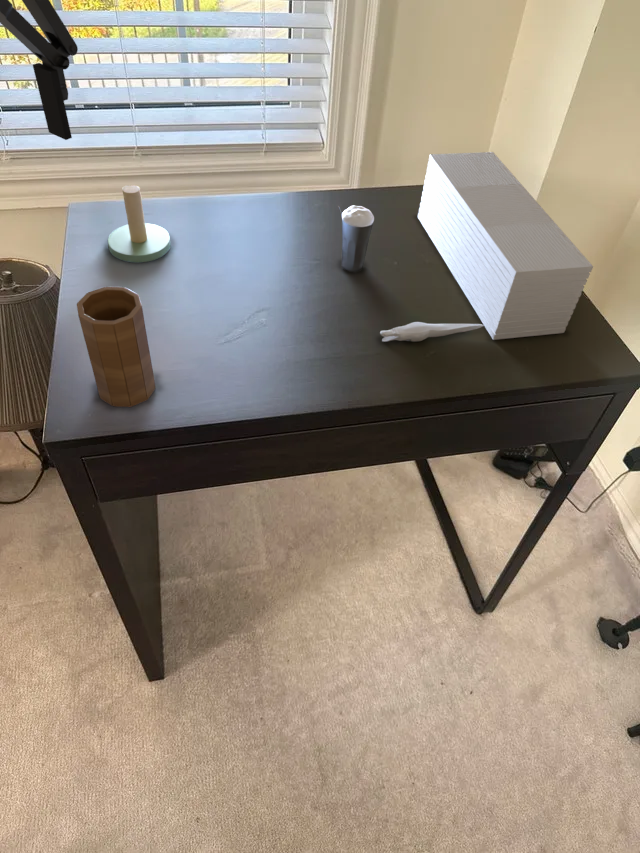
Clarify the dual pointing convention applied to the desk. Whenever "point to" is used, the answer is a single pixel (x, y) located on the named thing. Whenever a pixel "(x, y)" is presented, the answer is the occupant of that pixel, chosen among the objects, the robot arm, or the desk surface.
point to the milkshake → (355, 236)
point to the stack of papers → (501, 246)
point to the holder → (137, 233)
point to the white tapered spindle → (425, 331)
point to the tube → (117, 345)
